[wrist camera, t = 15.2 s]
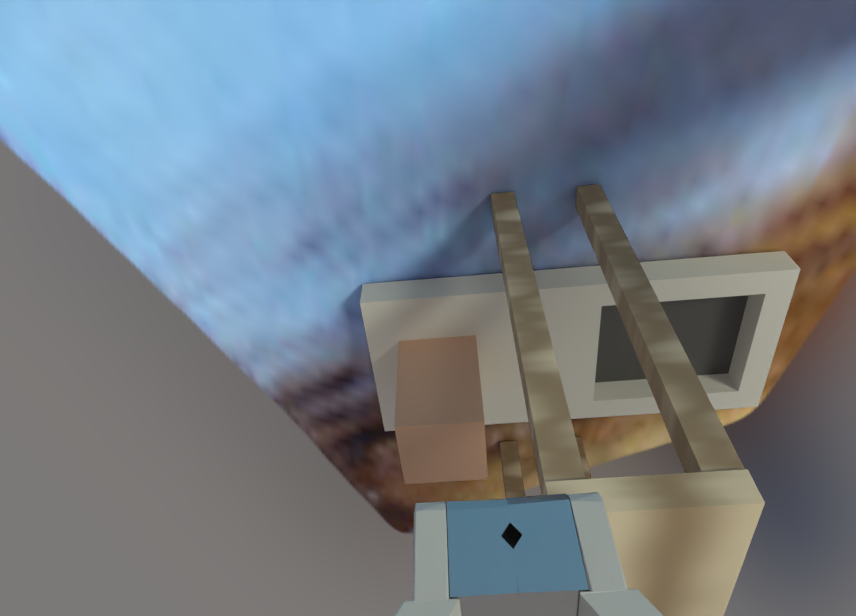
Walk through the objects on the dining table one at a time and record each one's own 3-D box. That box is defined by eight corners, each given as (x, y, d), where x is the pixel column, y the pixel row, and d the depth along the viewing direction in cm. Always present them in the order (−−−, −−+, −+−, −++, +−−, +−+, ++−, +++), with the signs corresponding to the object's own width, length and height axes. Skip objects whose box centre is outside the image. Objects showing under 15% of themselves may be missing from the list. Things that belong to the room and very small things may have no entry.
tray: (784, 251, 47) (800, 269, 45) (745, 386, 56) (757, 406, 54) (362, 284, 49) (359, 303, 47) (386, 410, 57) (384, 431, 55)
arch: (600, 181, 44) (764, 502, 23) (579, 449, 60) (663, 779, 39) (490, 190, 44) (551, 515, 23) (500, 454, 61) (540, 784, 40)
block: (475, 335, 49) (484, 421, 42) (479, 391, 52) (487, 479, 45) (399, 340, 49) (394, 427, 42) (407, 396, 53) (404, 484, 45)
